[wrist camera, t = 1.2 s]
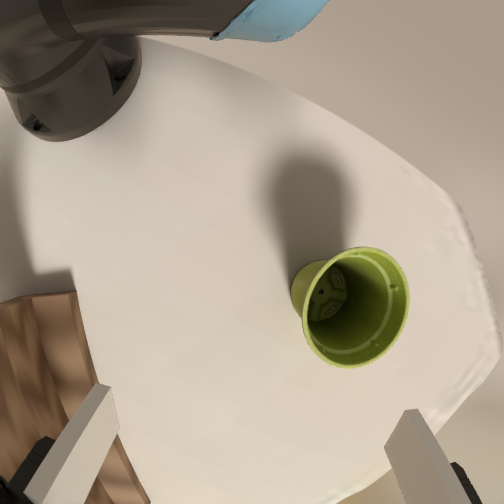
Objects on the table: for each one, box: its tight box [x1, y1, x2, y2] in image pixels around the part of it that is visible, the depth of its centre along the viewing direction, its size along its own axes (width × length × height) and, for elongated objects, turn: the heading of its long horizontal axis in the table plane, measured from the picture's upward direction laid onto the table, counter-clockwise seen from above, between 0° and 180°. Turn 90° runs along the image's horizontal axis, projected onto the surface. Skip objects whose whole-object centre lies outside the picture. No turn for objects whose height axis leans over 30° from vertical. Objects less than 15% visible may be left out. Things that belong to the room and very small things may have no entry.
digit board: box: [0, 291, 151, 504], centre depth 15 cm, size 30×12×20 cm, turn 6°
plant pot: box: [291, 247, 410, 369], centre depth 25 cm, size 9×9×9 cm
